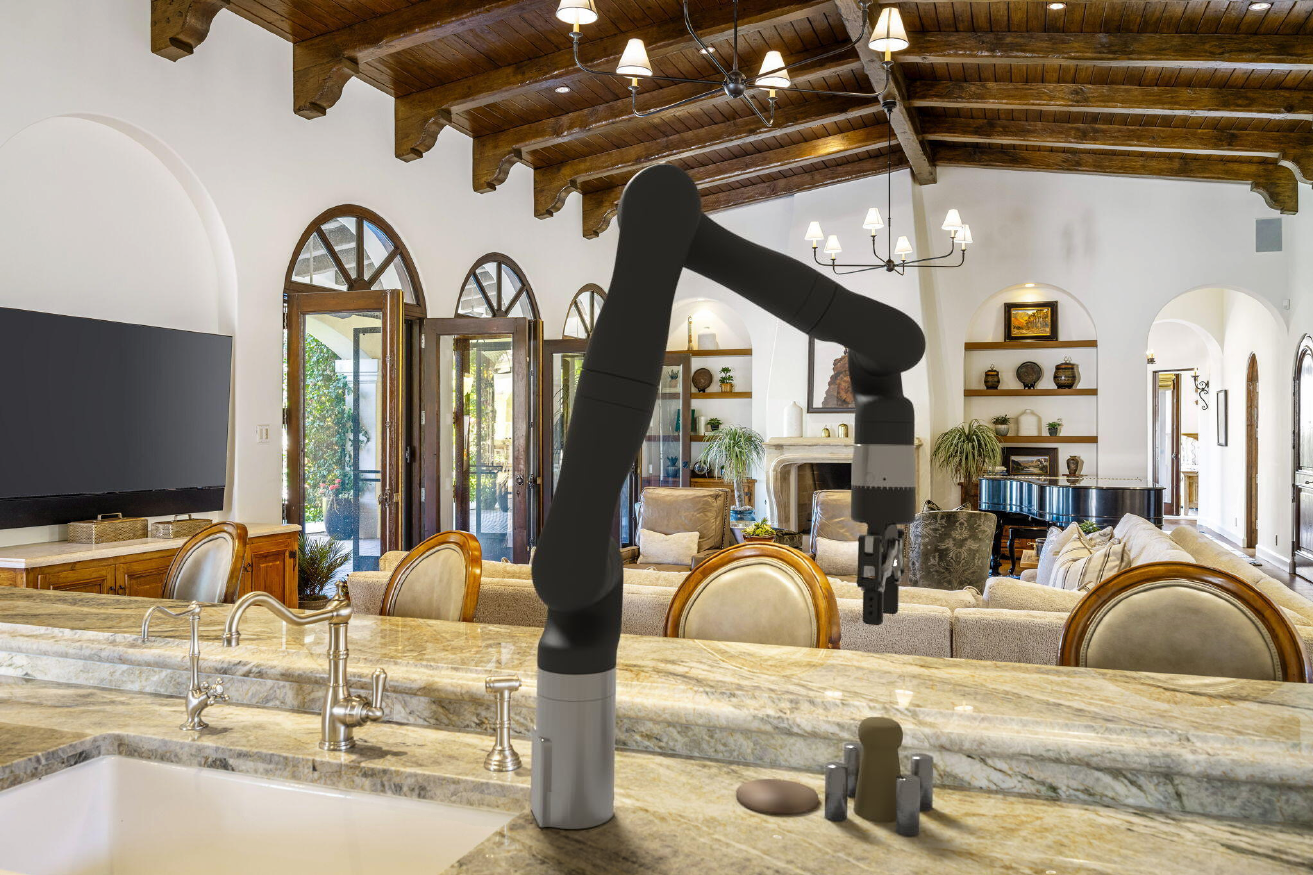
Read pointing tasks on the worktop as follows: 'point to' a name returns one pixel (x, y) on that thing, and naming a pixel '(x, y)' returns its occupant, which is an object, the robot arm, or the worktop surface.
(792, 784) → the smooth stone
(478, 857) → the worktop surface
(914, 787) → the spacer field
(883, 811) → the brown tapered cylinder
